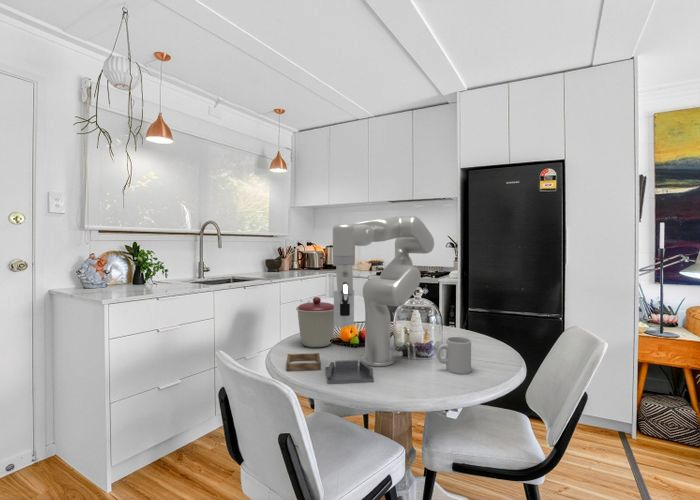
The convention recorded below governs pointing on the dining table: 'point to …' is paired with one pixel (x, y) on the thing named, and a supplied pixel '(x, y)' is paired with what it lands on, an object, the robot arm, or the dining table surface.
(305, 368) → the walnut collar
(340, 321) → the skincare box
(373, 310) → the robot arm
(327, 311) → the canister
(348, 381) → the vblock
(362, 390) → the dining table surface
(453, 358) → the mug
